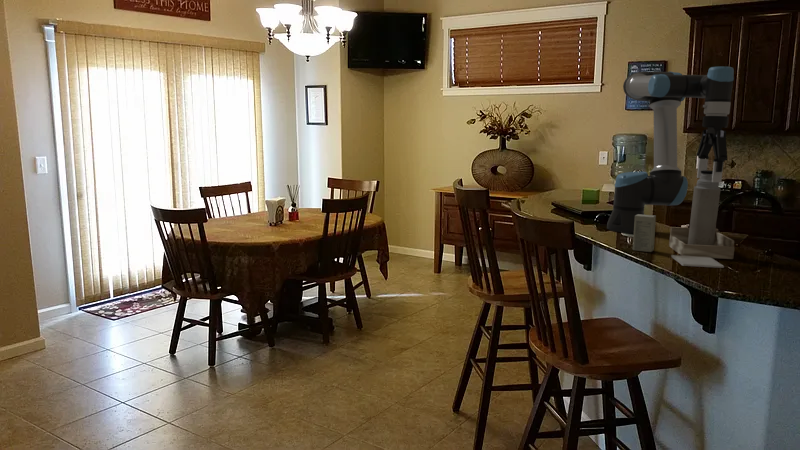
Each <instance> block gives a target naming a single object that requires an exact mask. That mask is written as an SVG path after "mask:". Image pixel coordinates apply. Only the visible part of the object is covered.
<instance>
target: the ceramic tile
mask: <svg viewBox="0 0 800 450" xmlns="http://www.w3.org/2000/svg"><path fill="white" fill-rule="evenodd" d="M670 257H671V258H672V259H673V260H675V261H676V262H677V263H679V264H680V265H681V266H683V267H700V268H701V267H702V268H703V267H704V268H716V269H717V268H719V269H720V268H722V269H724V268H725V266H724V265H723V264H722V263H720V262H718V261H717V260H715V258H711V257H703V256H683V255H680V254H679V255H678V254H671V255H670Z"/></svg>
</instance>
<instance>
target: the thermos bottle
mask: <svg viewBox="0 0 800 450" xmlns="http://www.w3.org/2000/svg"><path fill="white" fill-rule="evenodd" d="M712 174H713V170H708V169H707V170H703V171H701V177H700V178H698V179H697V181H696V185H694V187H693V194H692V201H691V203H692V204H691V211H690V212H691V213H690V220H689V228H690V229H689V237H688V244H690V245H711V246H714V239H715V231H716V229H717V219H718V213H719V212H718V211H719V205H720V195H721V190H722V189H721V188H720V187H719V185H720V182H712Z"/></svg>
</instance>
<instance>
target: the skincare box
mask: <svg viewBox="0 0 800 450" xmlns="http://www.w3.org/2000/svg"><path fill="white" fill-rule="evenodd" d="M656 223H657V215H651V214H644V215H642V214H637V215H635V221H634V233H633V238H632V239H633V240H632V250H633V251H639V252H647V253H652V252H653V251H654V250H655V249H654V248H655V235H656Z"/></svg>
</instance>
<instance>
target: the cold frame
mask: <svg viewBox="0 0 800 450" xmlns="http://www.w3.org/2000/svg"><path fill="white" fill-rule="evenodd" d="M689 229H690V227H683V226H681V227H679V226H677V227H676V226H670V233H669V242H668V248H669V247H670V248H671V249H672V250H673V251H674V252H676V253H678V254H679V255H683V256H703V257H711V258H712V259H726V260H733V259H734V255H735V249H736V248H735V240H734V239H733V238H731V237H728V236H726V235H725V234H722V233H720V232H719V229H718V228H716V231H715V239H714V246H711V245H690V244H688V237H689Z"/></svg>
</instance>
